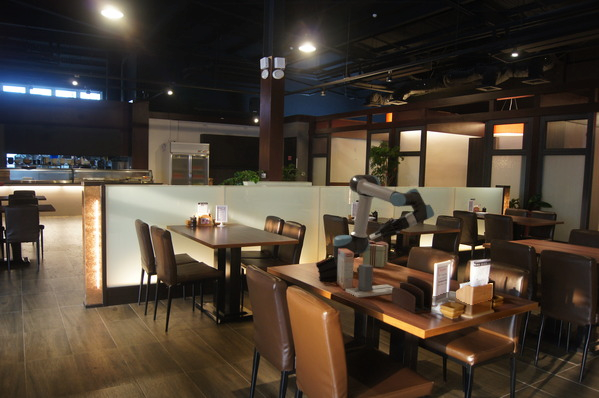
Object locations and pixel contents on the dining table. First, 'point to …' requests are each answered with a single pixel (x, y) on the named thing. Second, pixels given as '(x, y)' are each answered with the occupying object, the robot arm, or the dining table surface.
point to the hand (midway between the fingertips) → (370, 237)
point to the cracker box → (345, 268)
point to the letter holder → (413, 295)
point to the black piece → (327, 270)
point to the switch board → (376, 291)
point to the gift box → (376, 254)
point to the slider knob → (365, 277)
